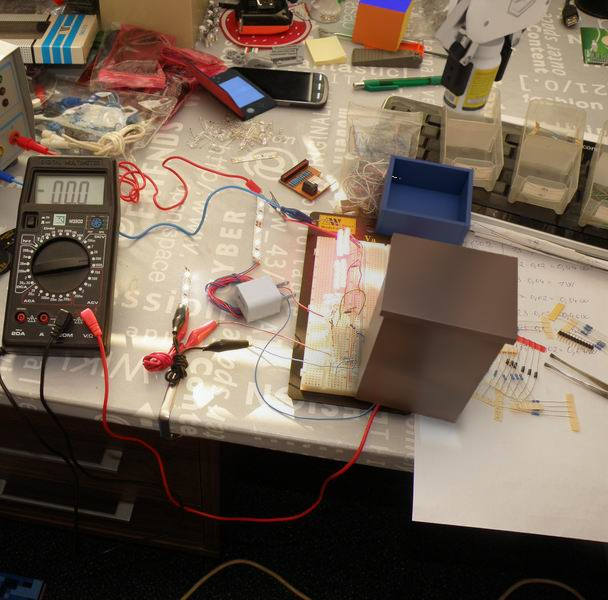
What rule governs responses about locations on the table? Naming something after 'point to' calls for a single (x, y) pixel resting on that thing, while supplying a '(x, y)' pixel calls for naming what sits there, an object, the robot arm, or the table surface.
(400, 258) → the walnut stand
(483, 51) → the supplement bottle
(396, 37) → the cube
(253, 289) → the usb wall charger
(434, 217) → the parts bin
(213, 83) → the handheld console
